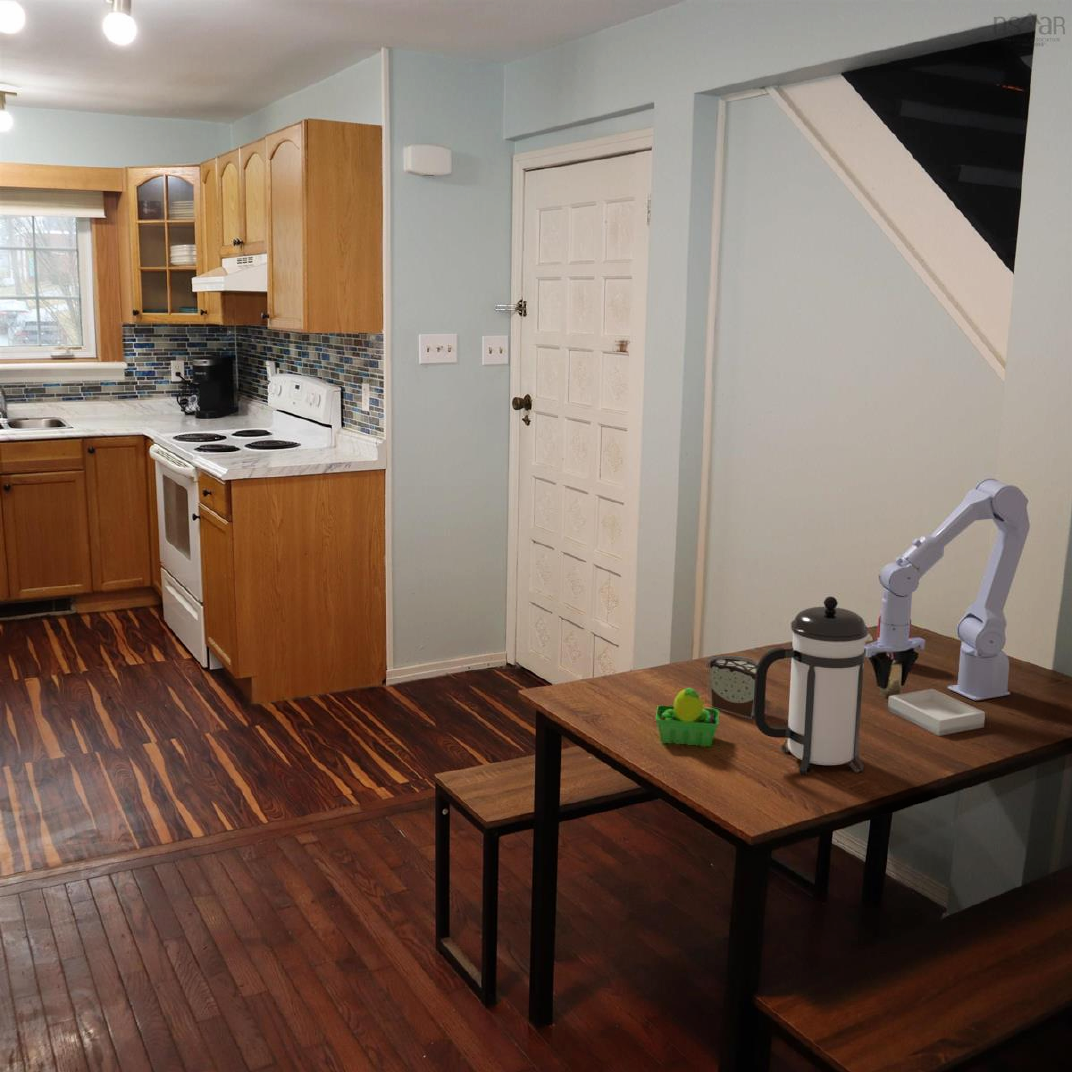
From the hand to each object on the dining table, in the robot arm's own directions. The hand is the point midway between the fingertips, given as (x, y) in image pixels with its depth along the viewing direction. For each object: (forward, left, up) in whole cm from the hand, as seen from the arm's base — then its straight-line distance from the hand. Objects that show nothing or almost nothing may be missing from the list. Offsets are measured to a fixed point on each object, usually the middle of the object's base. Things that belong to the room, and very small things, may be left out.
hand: (890, 685), depth 225 cm
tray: (+1, +14, -2) cm, 14 cm away
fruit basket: (+51, +5, -2) cm, 51 cm away
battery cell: (0, 0, -2) cm, 2 cm away
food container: (+33, -5, -2) cm, 33 cm away
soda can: (-14, -16, -2) cm, 21 cm away
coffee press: (+35, +22, -2) cm, 41 cm away
